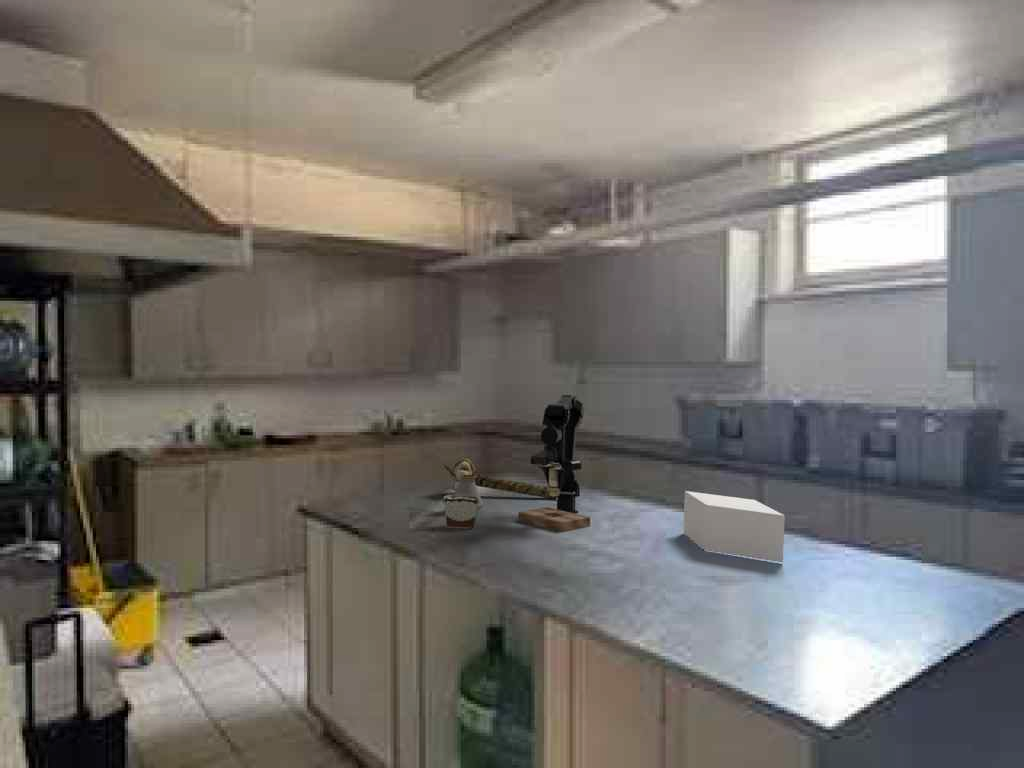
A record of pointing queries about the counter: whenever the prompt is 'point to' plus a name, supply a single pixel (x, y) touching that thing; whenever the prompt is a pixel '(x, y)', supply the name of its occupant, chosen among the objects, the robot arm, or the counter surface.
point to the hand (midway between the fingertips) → (554, 487)
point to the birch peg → (553, 482)
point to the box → (734, 526)
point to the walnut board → (554, 519)
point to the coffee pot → (467, 486)
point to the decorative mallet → (497, 481)
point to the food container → (460, 510)
